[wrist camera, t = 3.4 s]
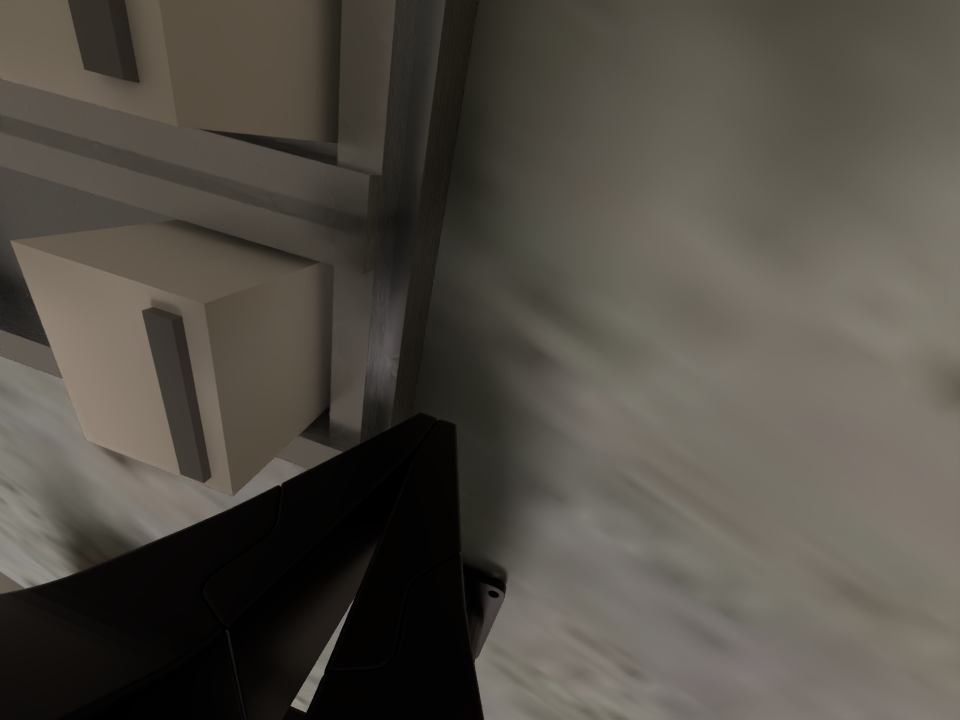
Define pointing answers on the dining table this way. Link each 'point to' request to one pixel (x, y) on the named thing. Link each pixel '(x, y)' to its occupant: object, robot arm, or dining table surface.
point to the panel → (272, 199)
